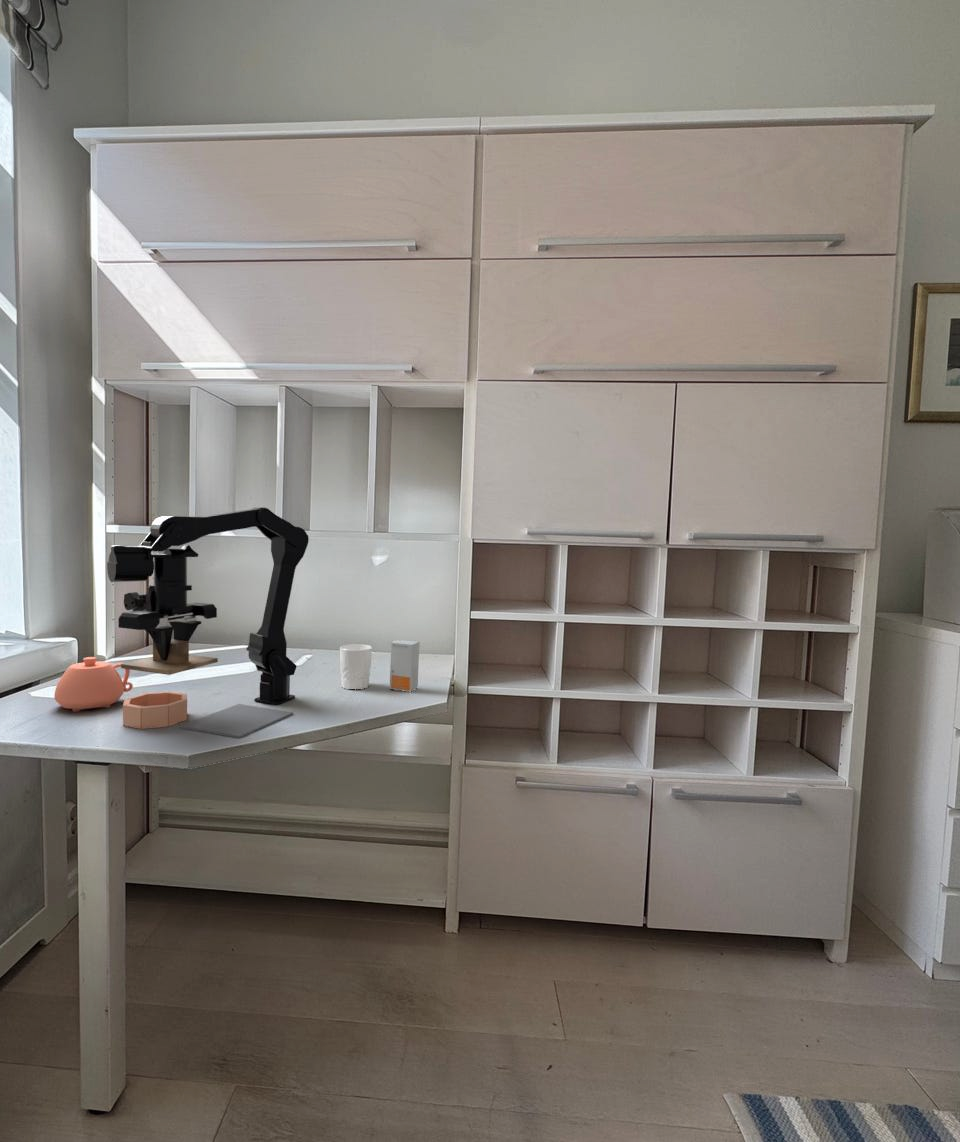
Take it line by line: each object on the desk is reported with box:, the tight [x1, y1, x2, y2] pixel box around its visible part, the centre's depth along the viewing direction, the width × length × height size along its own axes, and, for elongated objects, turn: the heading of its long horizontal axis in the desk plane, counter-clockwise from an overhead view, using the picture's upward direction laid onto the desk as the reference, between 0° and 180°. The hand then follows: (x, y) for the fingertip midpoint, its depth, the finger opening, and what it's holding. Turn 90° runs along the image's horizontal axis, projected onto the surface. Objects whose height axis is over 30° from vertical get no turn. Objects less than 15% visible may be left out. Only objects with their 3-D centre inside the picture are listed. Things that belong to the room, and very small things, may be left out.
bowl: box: [122, 690, 188, 730], centre depth 117 cm, size 11×11×4 cm
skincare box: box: [389, 639, 420, 692], centre depth 146 cm, size 6×4×12 cm
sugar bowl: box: [53, 656, 134, 712], centre depth 125 cm, size 12×14×10 cm
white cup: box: [339, 643, 373, 691], centre depth 147 cm, size 8×8×10 cm
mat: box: [179, 703, 294, 739], centre depth 118 cm, size 16×14×1 cm
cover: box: [120, 638, 219, 676], centre depth 116 cm, size 12×12×5 cm
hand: (171, 658), depth 117 cm, fingers closed on cover, 3 cm apart
